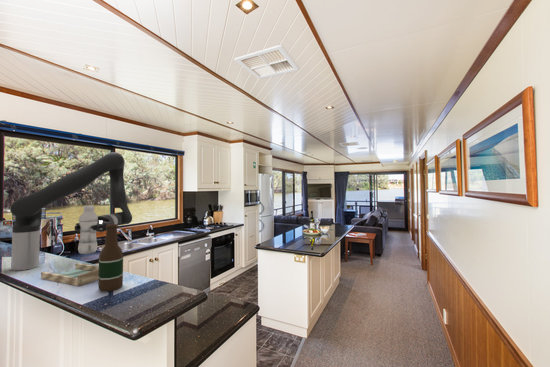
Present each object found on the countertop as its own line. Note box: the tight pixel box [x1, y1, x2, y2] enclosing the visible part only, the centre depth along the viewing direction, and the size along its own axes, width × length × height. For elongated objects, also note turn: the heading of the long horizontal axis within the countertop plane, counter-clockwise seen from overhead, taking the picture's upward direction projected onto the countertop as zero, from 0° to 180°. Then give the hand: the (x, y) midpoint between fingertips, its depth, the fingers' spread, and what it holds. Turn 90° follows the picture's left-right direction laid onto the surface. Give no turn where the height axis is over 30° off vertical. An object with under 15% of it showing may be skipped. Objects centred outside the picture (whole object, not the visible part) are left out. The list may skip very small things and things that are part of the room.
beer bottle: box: [97, 224, 124, 293], centre depth 94 cm, size 8×8×24 cm
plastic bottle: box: [77, 205, 99, 255], centre depth 104 cm, size 6×7×20 cm
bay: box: [40, 262, 99, 287], centre depth 106 cm, size 24×14×4 cm, turn 70°
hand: (85, 228), depth 102 cm, fingers closed on plastic bottle, 6 cm apart
